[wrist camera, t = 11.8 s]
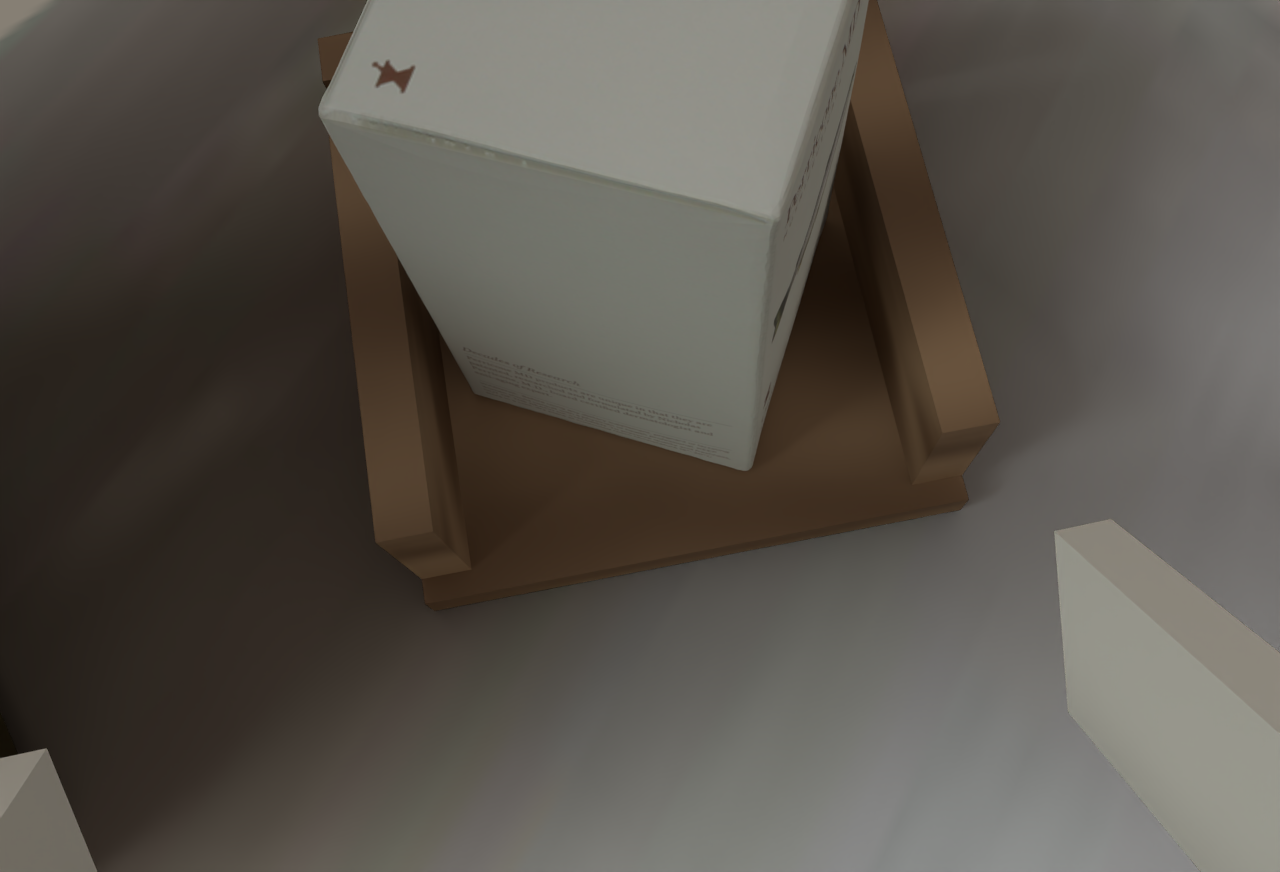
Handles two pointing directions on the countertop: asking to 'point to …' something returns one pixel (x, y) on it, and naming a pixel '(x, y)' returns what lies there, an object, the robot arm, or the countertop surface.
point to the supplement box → (605, 194)
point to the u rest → (659, 478)
